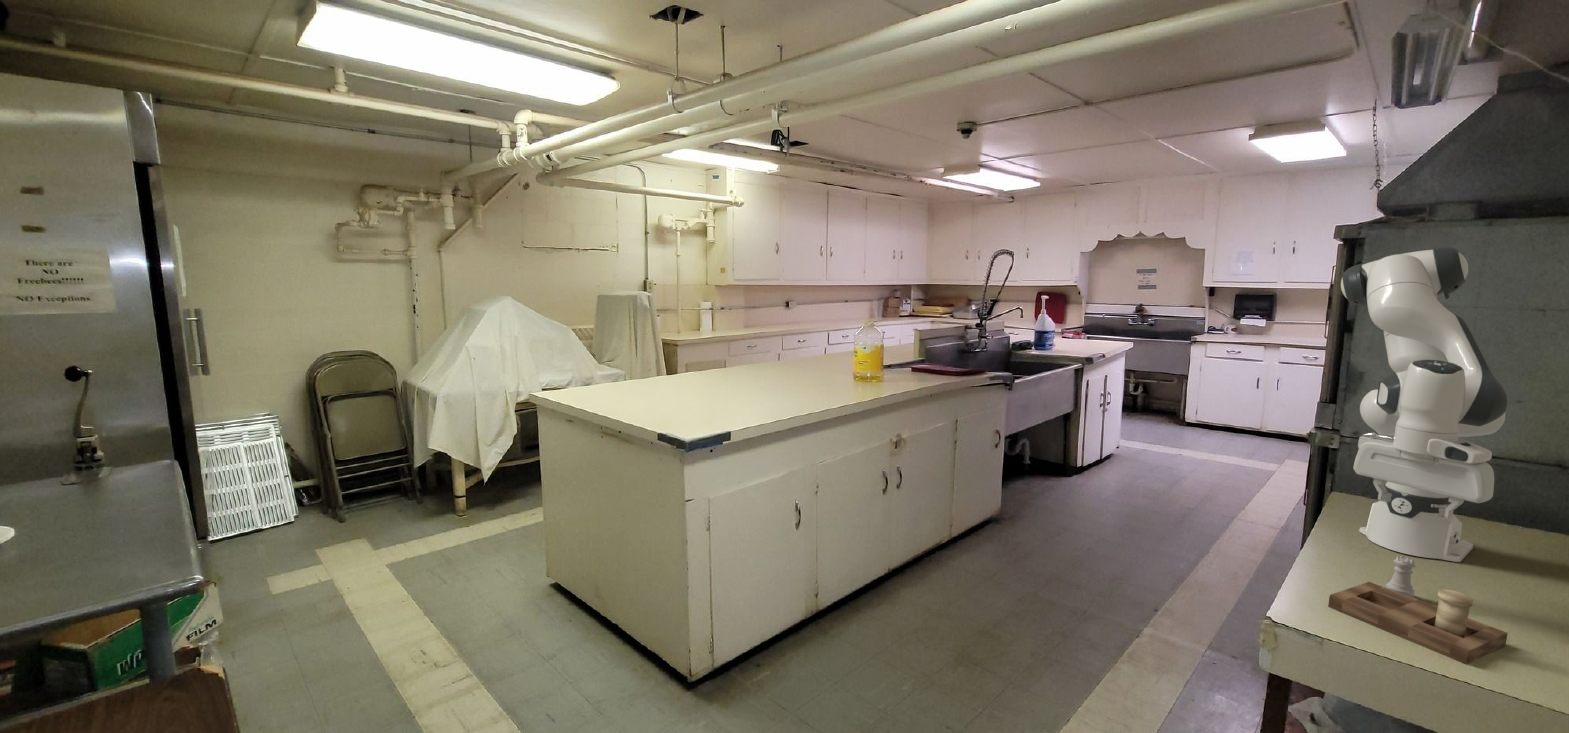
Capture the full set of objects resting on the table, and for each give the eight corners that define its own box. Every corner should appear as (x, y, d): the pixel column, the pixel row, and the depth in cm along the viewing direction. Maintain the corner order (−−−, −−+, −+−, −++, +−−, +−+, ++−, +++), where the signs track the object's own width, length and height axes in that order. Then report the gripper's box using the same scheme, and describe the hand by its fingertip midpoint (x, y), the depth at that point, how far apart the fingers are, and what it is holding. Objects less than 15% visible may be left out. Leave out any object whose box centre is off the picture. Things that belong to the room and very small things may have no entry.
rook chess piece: (1417, 603, 127) (1423, 565, 126) (1387, 597, 129) (1393, 560, 128) (1410, 593, 131) (1416, 557, 129) (1381, 587, 133) (1387, 552, 132)
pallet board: (1367, 592, 131) (1373, 554, 129) (1505, 645, 112) (1514, 601, 111) (1328, 606, 125) (1334, 566, 124) (1466, 664, 107) (1475, 617, 106)
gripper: (1351, 431, 133) (1342, 494, 135) (1487, 458, 114) (1474, 530, 117) (1368, 429, 136) (1359, 490, 138) (1504, 454, 117) (1491, 525, 119)
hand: (1413, 509), depth 127 cm, fingers open, 8 cm apart
